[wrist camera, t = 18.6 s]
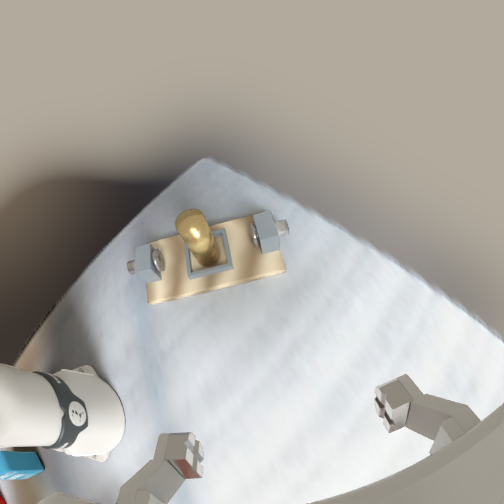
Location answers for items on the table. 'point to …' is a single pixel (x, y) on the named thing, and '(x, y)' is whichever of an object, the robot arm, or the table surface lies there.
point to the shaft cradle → (219, 274)
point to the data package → (19, 465)
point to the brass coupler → (198, 237)
